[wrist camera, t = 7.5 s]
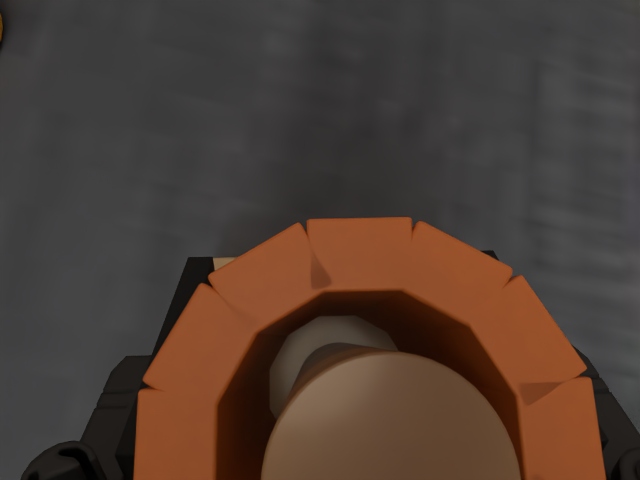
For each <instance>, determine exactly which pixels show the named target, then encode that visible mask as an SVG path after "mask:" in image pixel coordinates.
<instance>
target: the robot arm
mask: <svg viewBox="0 0 640 480" xmlns="http://www.w3.org/2000/svg"><path fill="white" fill-rule="evenodd" d="M481 252H483V253H485V254H487V255H489V256H490V257H492V258H494V259H496V260H498V261H499V259H498V258H497V256H496V255H495V253H494V251H493V250H492V251H481ZM214 271H215V268H214V262H213V257H188V260H187V262H186V265H185V268H184V270H183V273H182V276H181V278H180V281H179V284H178V286H177V289H176V292H175V294H174V297H173V300H172V302H171V305H170V308H169V310H168V313H167V316H166V318H165V321H164V324H163V326H162V329H161V332H160V334H159V337H158V340H157V342H156V345H155V348H154V350H153V353H152V355H149V356H126V357H125V358H124V359H123V360H122V361H121V362H120V363H119V364H118V365H117V366H116V367H115V368H114V369H113V371H112V372H111V374H110V376H109V378H108V380H107V382H106V385H105V387H104V389H103V393H101V396H100V398H99V400H98V402H97V407H96V408H95V409H94V411H93V413H92V415H91V418H90V420H89V422H88V424H87V426H86V429H85V431H84V433H83V435H82V437H81V440H80V441H68V442H63V443H59V444H57V445H55V446H53V447H51V448H49V449H47V450H45V451H43V452H42V453H41V454H40V455H39V456H37V457H36V458H35V459H34V460H33V461H31V463H30V464H29V466H28V467H27V468H26V470H25V471H24V473H23V474H22V477H21V480H133V476H134V458H135V440H136V422H137V404H138V393H139V390H141V389H144V388H147V387H150V386H149V385H147V384H145V383H144V381H143V377H144V375H145V373H146V372H147V370H148V368H149V367H150V365H151V363H152V362H153V360H154V358H155V357H156V355H157V353H158V352H159V350H160V348H161V347H162V345H163V343H164V342H165V340H166V338H167V337H168V335H169V333H170V332H171V330H172V328H173V327H174V325H175V324H176V322H177V320H178V319H179V317H180V315H181V314H182V312H183V310H184V309H185V307H186V305H187V304H188V302H189V300H190V299H191V297H192V295H193V294H194V292H195V290H196V289H197V287H198V285H200V284H201V283H205V284H207V285H209V286H211V287H212V285H211V283H210V282H209V280H208V275H209V274H210V273H212V272H214ZM572 347H573V348H574V349H575V351H576V352H577V354H578V355H579V357H580V358H581V359H582V361H583V362H584V364H585V365H586V367H587V369H586V370H585V371H584V372H583V373H581V374H580V375H579V376H586V377H589V378H591V380H592V385H593V392H594V399H595V406H596V413H597V420H598V427H599V434H600V441H601V448H602V455H603V461H604V468H605V475H606V480H640V434H639V432H638V431H637V429H636V428H635V427H634V425H633V424H632V422H631V421H630V419H629V418H628V416H627V415H626V413H625V412H624V410H623V409H622V407H621V406H620V405H619V403H618V402H617V400H616V399H615V397H614V396H613V394H612V393H611V392H609V388H608V387H607V385H606V384H605V383H604V381H603V380H602V378H600V377H599V374H598V372H597V371H596V369H595V368H594V366H593V365H592V363H591V362H590V361H589V359H588V358H587V357H586V356H585V355H584V354H582V353H581V352H580V351H579V350H577V349H576V348H575V347H574V346H573V345H572Z"/></svg>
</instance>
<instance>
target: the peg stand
mask: <svg viewBox="0 0 640 480" xmlns="http://www.w3.org/2000/svg"><path fill="white" fill-rule="evenodd" d="M236 258H238V257H220V258H213V262H214V268H215V270H217V269H219V268H220V267H222V266H224V265H226V264H227V263H229V262H231V261H232V260H234V259H236ZM270 410H271V412H272V413H273V415H274V417H275V419H276V421H277V422H276V424H275V426H274V428H273V431H272V433H271V435H270V438H269V441H268V444H267V447H266V451H265V454H264V460H263V465H262V471H261V480H521V477H520V471H519V465H518V461H517V457H516V454H515V450H514V447H513V444H512V442H511V440H510V437H509V435H508V432H507V430H506V428H505V426H504V425H503V423H502V421H501V419H500V418H499V416H498V414H497V413H496V411H495V410H494V409H493V407H492V406H491V404H490V403H489V402H488V400H487V399H486V398H485V397H484V396H483V395H482V394H481V393H480V392H479V391H478V390H477V389H476V387H475V386H473V385H472V384H471V383H470V382H468V381H467V380H466V379H465V378H464V377H462V376H461V375H460V374H458V373H456V372H455V371H453V370H452V369H450V368H449V367H447V366H445V365H443V364H440V363H438V362H436V361H434V360H432V359H429V358H425V357H422V356H419V355H416V354H410V353H404V352H399V350H398V349H397V347H396V346H395V344H394V342H393V341H392V339H391V338H390V336H389V334H388V333H387V332H385V331H383V330H381V329H379V328H378V327H376V326H374V325H372V324H370V323H368V322H367V321H365V320H363V319H361V318H359V317H357V316H356V315H354V316H319V317H317V318H316V319H314V320H312V321H311V322H309V323H308V324H306V325H304V326H303V327H301V328H299V329H298V330H296V331H295V332H293V333H291V334H290V335H288V336H287V338H286V340H285V342H284V344H283V345H282V347H281V349H280V351H279V353H278V355H277V356H276V358H275V360H274V362H273V364H272V366H271V367H270Z"/></svg>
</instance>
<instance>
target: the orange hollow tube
mask: <svg viewBox="0 0 640 480" xmlns="http://www.w3.org/2000/svg"><path fill="white" fill-rule="evenodd" d="M512 270H513V269H512V268H511V267H510V266H508V265H506V264H504V263H502V262H500V261H498V260H496V259H494V258H492V257H490V256H489V255H487V254H485V253H483V252H481V251H479V250H477V249H475V248H473V247H471V246H469V245H467V244H465V243H463V242H462V241H460V240H458V239H456V238H454V237H452V236H450V235H448V234H446V233H444V232H442V231H440V230H438V229H436V228H435V227H433V226H431V225H429V224H427V223H425V222H423V221H418V222H417V223H416V224H415V225H414V226H413V227H412V220H411V218H410V217H383V218H337V219H309V220H307V233H306V231H305V229H304V228H303V226H302V225H301V224H300V223H296V224H294V225H292V226H290V227H289V228H287V229H285V230H284V231H282V232H280V233H279V234H277V235H275V236H273V237H272V238H270V239H268V240H267V241H265V242H263V243H261V244H260V245H258V246H256V247H255V248H253V249H251V250H250V251H248V252H246V253H244V254H243V255H241V256H239V257H238V258H236V259H234V260H232V261H231V262H229V263H227V264H226V265H224V266H222V267H220V268H219V269H217V270H215V271H214V272H212V273H210V274H209V275H208V280H209V282H210V283H211V285H212V287H211V286H209V285H207V284H205V283H201V284H200V285H198V287H197V289H196V290H195V292H194V294H193V295H192V297H191V299H190V300H189V302H188V304H187V305H186V307H185V309H184V310H183V312H182V314H181V315H180V317H179V319H178V320H177V322H176V324H175V325H174V327H173V328H172V330H171V332H170V333H169V335H168V337H167V338H166V340H165V342H164V343H163V345H162V347H161V348H160V350H159V352H158V353H157V355H156V357H155V358H154V360H153V362H152V363H151V365H150V367H149V368H148V370H147V372H146V373H145V375H144V377H143V381H144V383H145V384H147V385H149V386H150V387H147V388H144V389H141V390H139V393H138V404H137V422H136V440H135V458H134V476H133V480H261V471H262V465H263V460H264V454H265V451H266V447H267V444H268V441H269V438H270V435H271V433H272V431H273V428H274V426H275V424H276V422H277V421H276V419H275V417H274V415H273V413H272V412H271V410H270V367H271V366H272V364H273V362H274V360H275V358H276V356H277V355H278V353H279V351H280V349H281V347H282V345H283V344H284V342H285V340H286V338H287V336H288V335H290V334H291V333H293V332H295V331H296V330H298V329H299V328H301V327H303V326H304V325H306V324H308V323H309V322H311V321H312V320H314V319H316V318H317V317H319V316H354V315H356V316H357V317H359V318H361V319H363V320H365V321H367V322H368V323H370V324H372V325H374V326H376V327H378V328H379V329H381V330H383V331H385V332H387V333H388V334H389V336H390V338H391V339H392V341H393V342H394V344H395V346H396V347H397V349H398V350H399V352H404V353H410V354H416V355H419V356H422V357H425V358H429V359H432V360H434V361H436V362H438V363H440V364H443V365H445V366H447V367H449V368H450V369H452V370H453V371H455V372H456V373H458V374H460V375H461V376H462V377H464V378H465V379H466V380H467V381H468V382H470V383H471V384H472V385H473V386H475V387H476V389H477V390H478V391H479V392H480V393H481V394H482V395H483V396H484V397H485V398H486V399H487V400H488V402H489V403H490V404H491V406H492V407H493V409H494V410H495V411H496V413H497V414H498V416H499V418H500V419H501V421H502V423H503V425H504V426H505V428H506V430H507V432H508V435H509V437H510V440H511V442H512V444H513V447H514V450H515V454H516V457H517V461H518V465H519V471H520V477H521V480H606V475H605V468H604V461H603V455H602V448H601V441H600V434H599V427H598V420H597V413H596V406H595V399H594V392H593V385H592V380H591V378H589V377H586V376H579V375H580V374H581V373H583V372H584V371H585V370H586V369H587V367H586V365H585V364H584V362H583V361H582V359H581V358H580V357H579V355H578V354H577V352H576V351H575V349H574V348H573V347H572V345H571V344H570V342H569V341H568V340H567V338H566V337H565V335H564V334H563V332H562V331H561V330H560V328H559V327H558V325H557V324H556V323H555V321H554V320H553V318H552V317H551V315H550V314H549V313H548V311H547V310H546V308H545V307H544V306H543V304H542V303H541V301H540V300H539V298H538V297H537V296H536V294H535V293H534V291H533V290H532V288H531V287H530V286H529V284H528V283H527V281H526V280H525V279H524V277H523V276H522V275H518V276H515V277H511V275H512ZM510 277H511V278H510Z"/></svg>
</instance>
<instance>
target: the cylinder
mask: <svg viewBox="0 0 640 480" xmlns="http://www.w3.org/2000/svg"><path fill="white" fill-rule="evenodd" d="M2 30H3V24H2V16H1V13H0V41H1V38H2Z"/></svg>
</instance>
